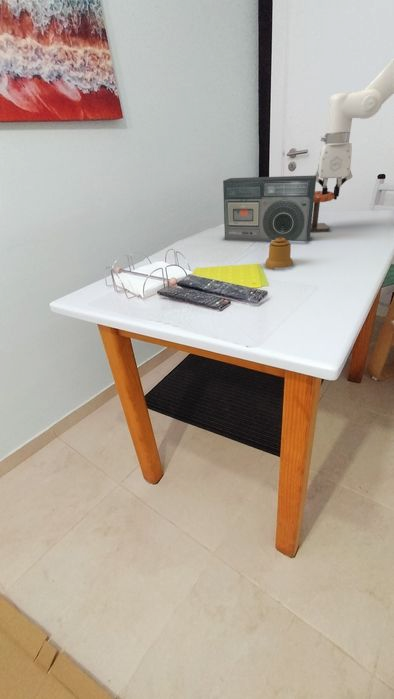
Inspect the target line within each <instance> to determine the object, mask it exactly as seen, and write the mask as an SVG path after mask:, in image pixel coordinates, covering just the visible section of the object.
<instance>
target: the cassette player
mask: <svg viewBox="0 0 394 699" xmlns="http://www.w3.org/2000/svg"><path fill="white" fill-rule="evenodd" d="M314 175H315V174H314ZM314 175H288V176H283V175H282V176H261V177H260V176H258V177H257V176H256V177H255V176H254V177H252V176H251V177H230V178H227V179H224V180H222V185H223V186H222V188H223V189H222V190H223V222H224V223H223V225H224V241H239V242H240V241H242V242H260V243H261V242H262V243H263V242H264V243H272V241H274V240H275V239H276V238H285V239H286V240H287V241H289V242H308V240H309V239H310V237H311V233H312V232H311V224H312V218H313V209H314V195H315V191H316V185H317V182H316V176H317V175H315V176H314Z"/></svg>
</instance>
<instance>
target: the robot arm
mask: <svg viewBox="0 0 394 699" xmlns="http://www.w3.org/2000/svg"><path fill="white" fill-rule="evenodd" d="M393 95H394V57H393V58H392V59H391V60H390V61H389V63H388V64H387V65H386V66H385V67H384V68H383V69H382V70H381V72H380V73H379V74H378V75H377V76H376V77H375V78H374V79H373V80H372V81H371V82H370V83H369V84H368V85H367V86H366V87H365V88H364V89H363V90H358V91H353V92H352V91H345V92H344V91H343V92H338V93H334V94H332V95H331V96H330V99H329V103H328V111H327V119H326V120H327V121H326V130H325V135H323V136H320V142H323V143H324V144H322V146H321V150H320V153H319V154H320V155H319V158H318V165H317V170H316V172H315V174H314V175H313V176H315V175H317V176H316V183H317V184H319V185H320V186H321V187H322V190H321V191H322V195H324V194H327V191H329V188H328V180H329V179H336V181H335V182H336V183H335V186H334V187H333V193H334V194H335V197H334V199H333V200H334V201H335V200H336V201H337V199H338V197H339V195H340V190H341V189H340V188H341V187H342V185H344V184H345V183H346V182H347V181H349V180H350V179H352V178H353V173H352V170H351V164H352V143H351V142H350V139H351V138H350V137H351V130H352V124H353V119H360V120H366V119H370V118H372V117H374V116H375V115H377V113H378V112H379V111H380V109H381V108H382V106H383V104H384V103H385V102H386V101H387V100H388V99H390V97H392V96H393Z"/></svg>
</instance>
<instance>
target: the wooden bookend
mask: <svg viewBox="0 0 394 699" xmlns="http://www.w3.org/2000/svg"><path fill="white" fill-rule="evenodd" d="M315 195H321V194H315ZM320 205H321V202H314V204H313V214H312V224H311V233H324V232H325V233H326V232H330V228H329V227H328V225H327V223H325V222H319V214H320Z"/></svg>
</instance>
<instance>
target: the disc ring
mask: <svg viewBox="0 0 394 699" xmlns="http://www.w3.org/2000/svg"><path fill="white" fill-rule="evenodd" d="M315 194H321V195H314V202H320V203H326V202H331V201H332V200H335V199H334V197H335V194H334V191H329V190H328V191H327V194H324V195H322V190H315Z"/></svg>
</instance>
